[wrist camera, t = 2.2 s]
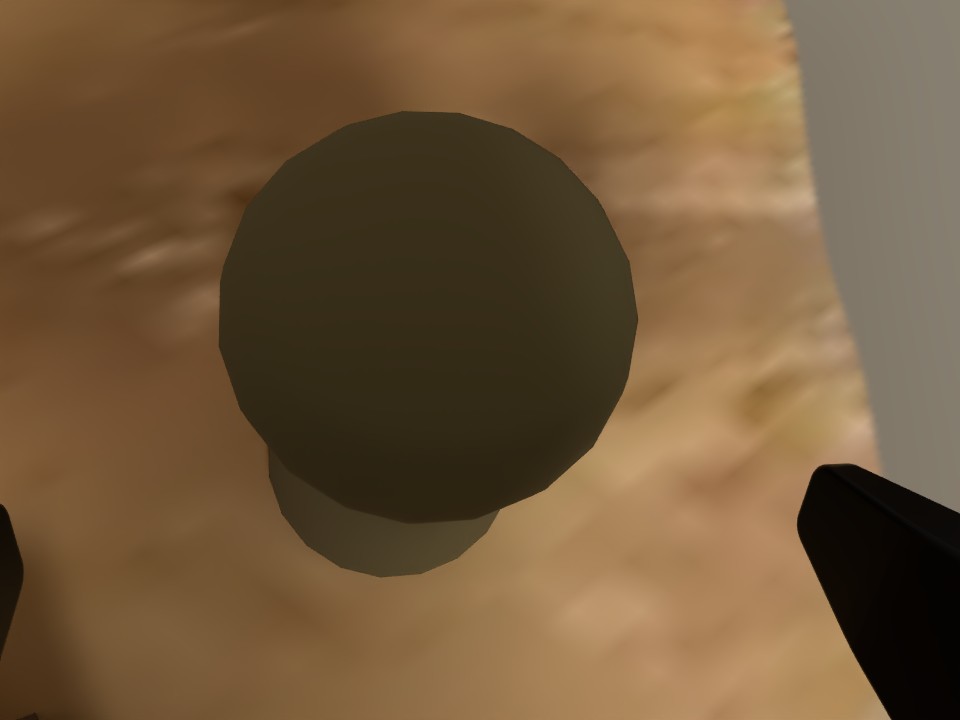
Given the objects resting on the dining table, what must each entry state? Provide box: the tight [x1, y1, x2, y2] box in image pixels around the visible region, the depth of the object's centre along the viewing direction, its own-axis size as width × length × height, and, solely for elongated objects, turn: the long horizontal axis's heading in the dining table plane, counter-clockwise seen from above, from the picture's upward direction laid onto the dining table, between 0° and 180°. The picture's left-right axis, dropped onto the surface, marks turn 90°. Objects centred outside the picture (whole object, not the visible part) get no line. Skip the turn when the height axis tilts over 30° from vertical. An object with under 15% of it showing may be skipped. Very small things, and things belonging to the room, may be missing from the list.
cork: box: [219, 111, 638, 577], centre depth 13 cm, size 6×6×11 cm
